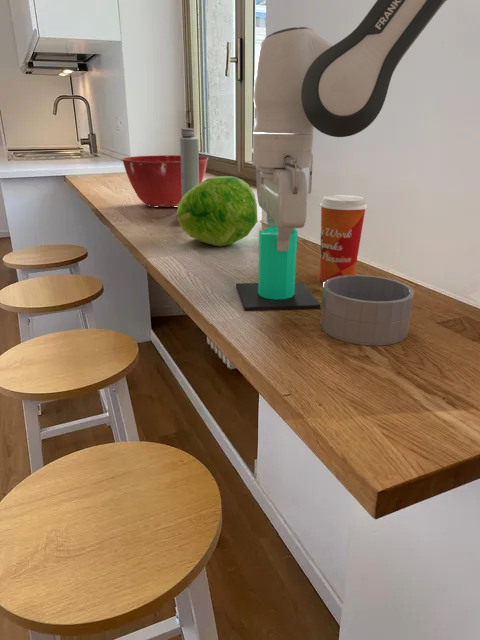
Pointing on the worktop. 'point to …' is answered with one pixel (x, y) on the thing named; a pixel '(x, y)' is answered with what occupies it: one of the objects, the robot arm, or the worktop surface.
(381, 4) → the robot arm
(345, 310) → the tin
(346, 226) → the coffee cup
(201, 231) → the lettuce
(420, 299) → the worktop surface
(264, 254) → the candle
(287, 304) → the coaster
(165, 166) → the mixing bowl
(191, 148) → the flask
